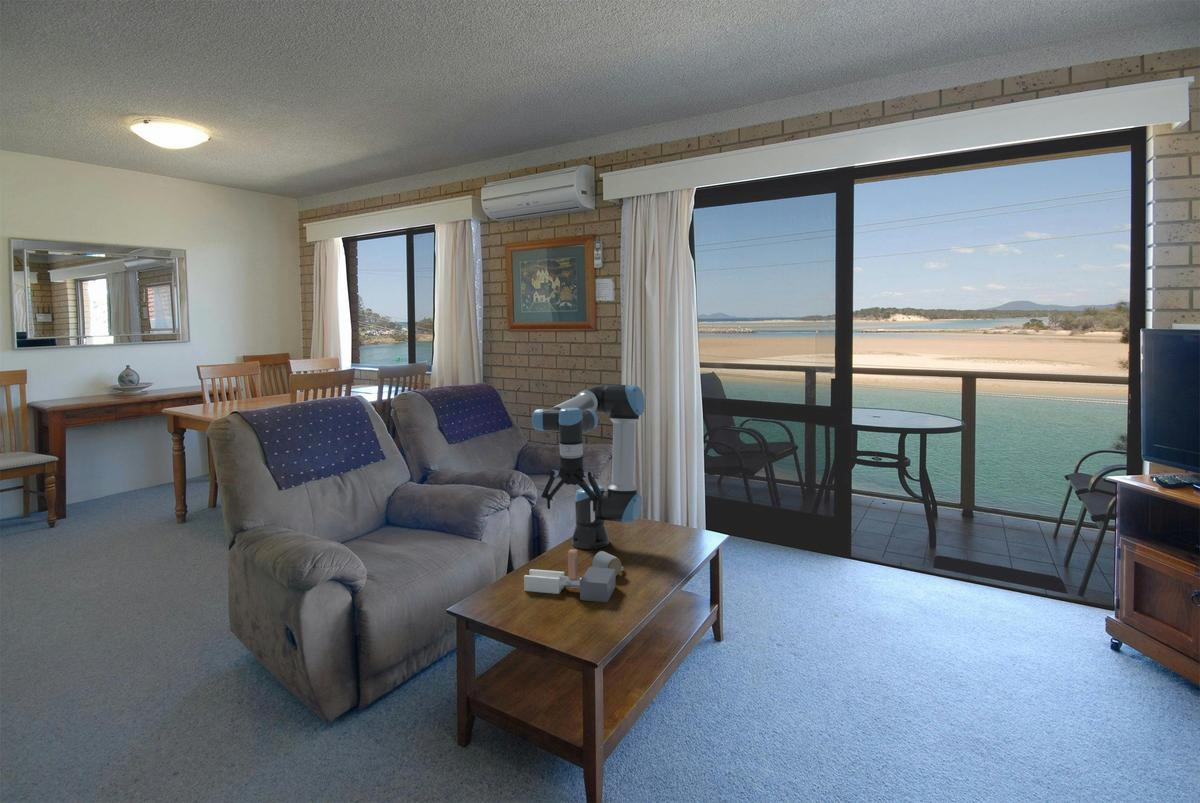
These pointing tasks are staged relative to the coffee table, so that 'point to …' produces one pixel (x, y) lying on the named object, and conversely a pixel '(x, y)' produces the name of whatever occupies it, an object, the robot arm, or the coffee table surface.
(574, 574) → the silver peg with handle
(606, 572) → the socket block
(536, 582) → the white channel cradle
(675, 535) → the coffee table surface
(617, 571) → the ceramic mug
